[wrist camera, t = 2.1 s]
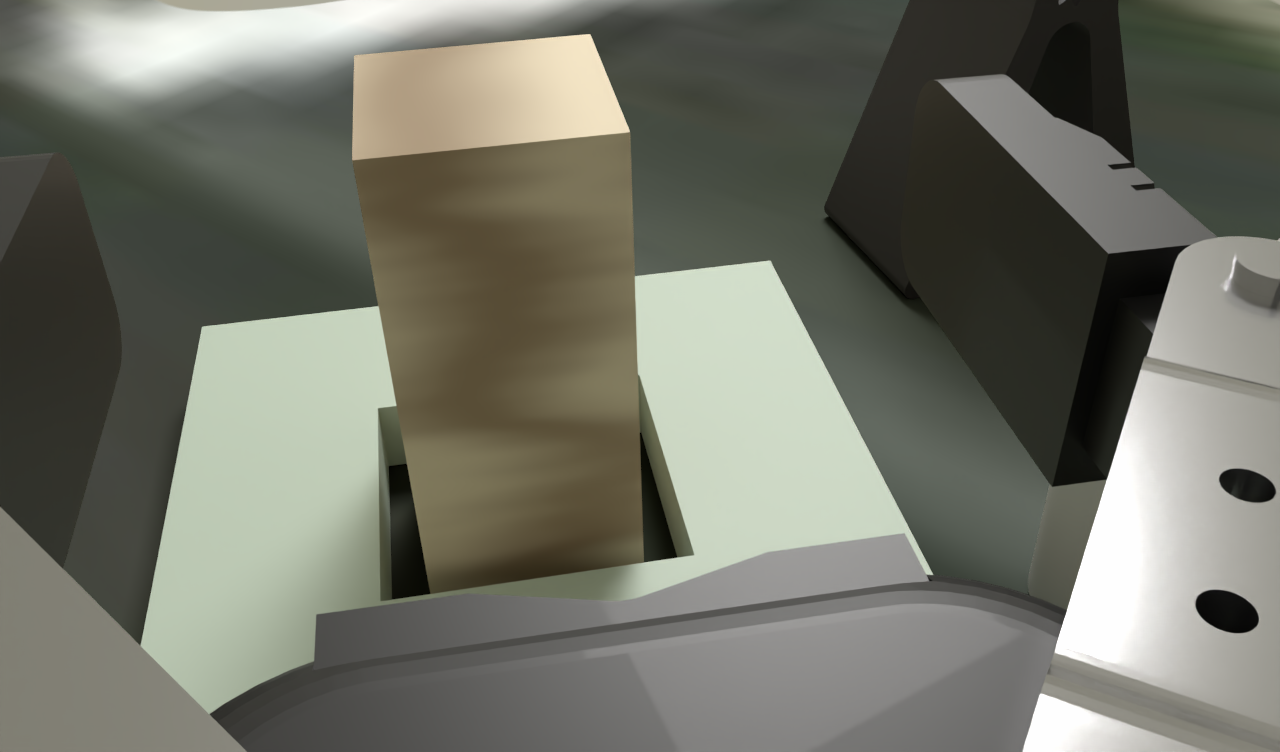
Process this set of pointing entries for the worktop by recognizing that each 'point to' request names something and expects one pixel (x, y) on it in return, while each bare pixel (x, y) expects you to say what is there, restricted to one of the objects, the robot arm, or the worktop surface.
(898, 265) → the phone stand
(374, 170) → the birch block
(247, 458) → the pocket frame
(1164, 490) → the robot arm
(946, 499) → the worktop surface
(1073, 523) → the lumpy-topped squat cylinder
